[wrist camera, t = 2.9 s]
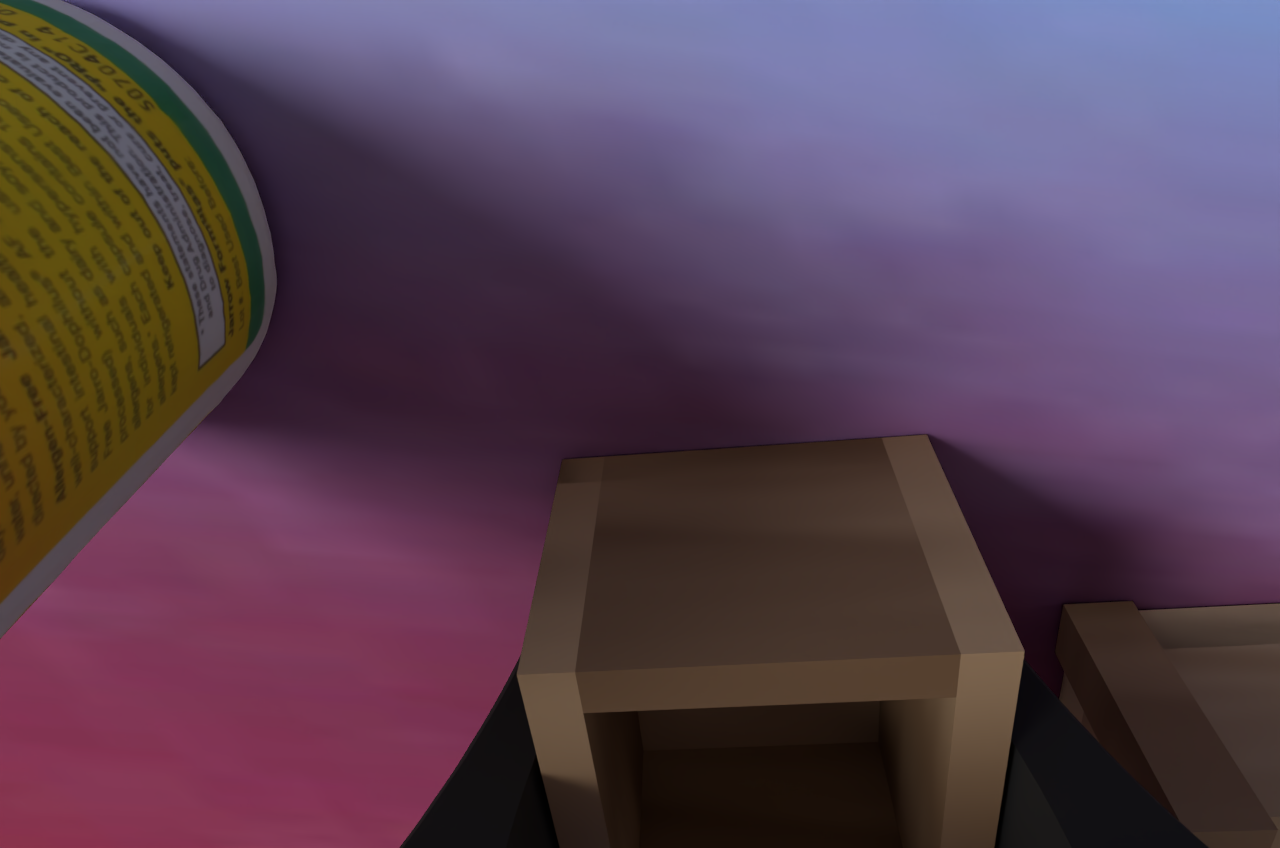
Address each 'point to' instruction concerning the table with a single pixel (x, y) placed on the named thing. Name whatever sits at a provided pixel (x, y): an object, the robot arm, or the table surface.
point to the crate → (1184, 708)
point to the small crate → (768, 652)
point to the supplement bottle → (109, 279)
